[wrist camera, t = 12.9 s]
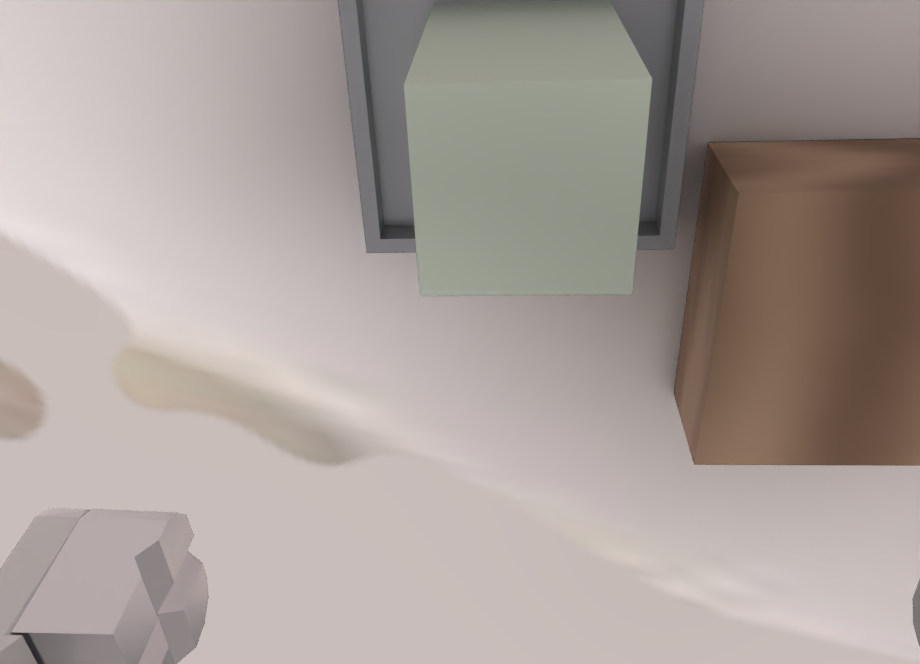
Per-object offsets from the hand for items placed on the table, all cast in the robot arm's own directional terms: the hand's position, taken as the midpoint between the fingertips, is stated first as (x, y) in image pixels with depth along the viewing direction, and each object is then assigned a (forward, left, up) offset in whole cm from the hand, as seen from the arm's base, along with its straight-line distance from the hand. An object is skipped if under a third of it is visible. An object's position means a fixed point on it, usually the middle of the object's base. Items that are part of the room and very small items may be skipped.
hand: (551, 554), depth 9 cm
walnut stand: (-11, +7, -19) cm, 23 cm away
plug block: (0, 0, -18) cm, 18 cm away
